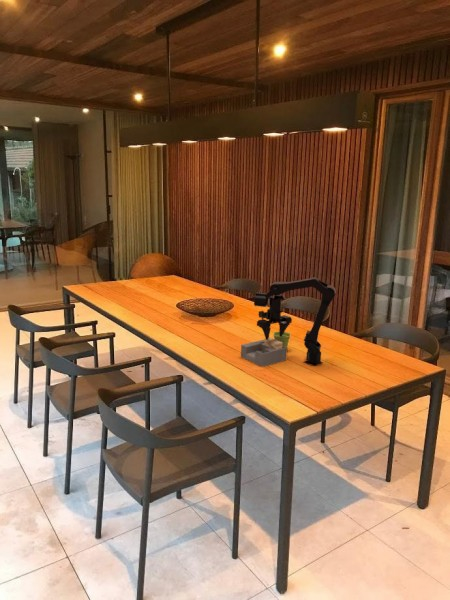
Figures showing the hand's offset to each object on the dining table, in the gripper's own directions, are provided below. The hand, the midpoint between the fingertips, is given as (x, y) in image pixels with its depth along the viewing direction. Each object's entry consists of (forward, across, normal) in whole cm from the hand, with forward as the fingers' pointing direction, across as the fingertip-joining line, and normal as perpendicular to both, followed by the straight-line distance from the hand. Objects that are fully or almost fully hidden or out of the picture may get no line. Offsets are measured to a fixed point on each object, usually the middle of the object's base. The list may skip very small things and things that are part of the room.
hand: (273, 338), depth 239 cm
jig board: (+10, +5, -2) cm, 12 cm away
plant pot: (+11, -12, -7) cm, 18 cm away
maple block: (+5, 0, 0) cm, 5 cm away
